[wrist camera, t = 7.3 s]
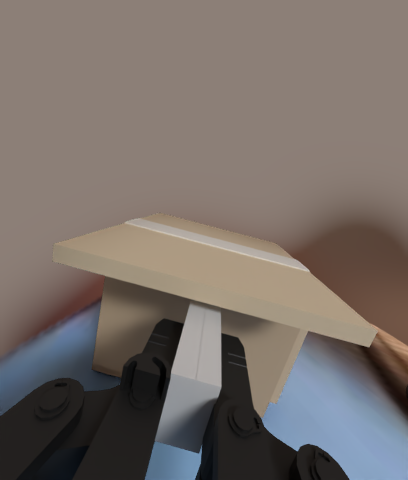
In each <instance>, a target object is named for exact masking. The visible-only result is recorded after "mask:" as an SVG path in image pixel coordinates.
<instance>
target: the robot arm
mask: <svg viewBox="0 0 408 480" xmlns="http://www.w3.org/2000/svg"><path fill="white" fill-rule="evenodd" d="M245 358H246V356H245V350H244V346H243V345H242V343H241V341H240V339H239V338H238V337H235V336H231V335H227V334H224V333H221V307H218V306H215V305H211V304H207V303H204V302H200V301H196V300H193V299H191V302H190V305H189V309H188V313H187V316H186V320H185V323H180V322H176V321H173V320H169V319H165V318H163V319H162V320H161V321H159V322H158V323H157V324H156V325H155V327H154V329H153V331H152V334H151V335H150V337H149V339H148V342H147V343H146V345H145V347H144V349H143V351H142V353H139V354H136V355H135V356H133V357H131V358H129V359H128V361H127V362H126V363H125V364H124V365H123V370H122V376H121V381H120V385H118V386H116V387H114V388H111V389H107V390H100V391H85V392H84V389H83V386H82V385H81V384H80V383H79V382H78V381H77V380H74V379H71V378H59V379H55V380H52V381H49V382H46V383H45V384H43V385H42V386H40V387H38V388H37V389H35V390H34V391H32V392H31V393H30V394H28V395H27V396H26V397H25V398H23V399H22V400H21V401H20V402H18V403H17V404H16V405H14V406H13V407H12V408H11V409H9V410H8V411H7V412H5V413H4V414H3V415H2V416H0V480H145V476H146V472H147V468H148V464H149V461H150V457H151V453H152V449H153V445H154V442H155V441H157V442H160V443H164V444H167V445H171V446H174V447H178V448H181V449H185V450H188V451H192V452H195V453H199V452H200V449H201V446H202V455H201V464H200V467H199V470H198V473H197V476H196V479H195V480H349V478H348V476H347V475H346V474H345V472H344V471H343V469H342V468H341V467H340V465H339V464H338V463H337V462H336V461H335V460H334V459H333V458H332V457H331V456H330V455H329V454H328V453H327V452H325V451H324V450H322V449H321V448H319V447H318V446H315V445H310V444H306V445H303V446H301V447H300V449H299V451H298V452H297V451H296V450H294V449H293V448H291V447H289V446H288V445H286V444H285V443H283V442H282V441H280V440H279V439H277V438H276V437H275V436H273V435H272V434H271V433H270V432H269V431H268V430H267V429H266V428H265V427H264V425H263V422H262V419H261V418H260V416H259V415H258V413H257V412H256V410H255V409H254V406H253V401H252V395H251V388H250V382H249V376H248V369H247V363H246V359H245ZM406 394H407V397H408V385H407V387H406Z"/></svg>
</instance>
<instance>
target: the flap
mask: <svg viewBox="0 0 408 480" xmlns="http://www.w3.org/2000/svg"><path fill="white" fill-rule="evenodd" d="M52 261H53V262H56V263H60V264H63V265H67V266H71V267H75V268H78V269H82V270H86V271H89V272H93V273H97V274H101V275H104V276H108V277H111V278H115V279H119V280H122V281H126V282H130V283H134V284H137V285H141V286H145V287H148V288H152V289H156V290H159V291H163V292H167V293H170V294H174V295H178V296H182V297H185V298H189V299H193V300H196V301H200V302H204V303H207V304H211V305H215V306H218V307H222V308H226V309H229V310H233V311H237V312H241V313H244V314H248V315H252V316H255V317H259V318H263V319H266V320H270V321H274V322H277V323H281V324H285V325H289V326H292V327H296V328H300V329H303V330H307V331H311V332H314V333H318V334H322V335H325V336H329V337H333V338H337V339H340V340H344V341H348V342H351V343H355V344H359V345H362V346H366V347H370V345H371V343H372V341H373V339H374V337H375V336H376V334H377V332H378V331H377V330H376V329H375V328H374V327H373V326H372V325H370V324H369V323H368V322H367V321H366V320H365V319H363V318H362V317H361V316H360V315H359V314H358V313H356V312H355V311H354V310H353V309H352V308H350V307H349V306H348V305H347V304H346V303H345V302H344V301H342V300H341V299H340V298H339V297H338V296H337V295H335V294H334V293H333V292H332V291H331V290H330V289H328V288H327V287H326V286H325V285H324V284H323V283H322V282H320V281H319V280H318V279H317V278H316V277H315V276H313V275H312V274H311V273H310V272H309V270H308V269H307V268H306V267H305V266H304V265H302V264H301V263H300V262H299V261H298V260H295V259H293V258H292V257H291V256H290V255H289V254H288V253H287V252H285V251H284V250H283V249H282V248H281V247H279V246H278V245H277V244H276V243H273V242H269V241H265V240H262V239H257V238H254V237H250V236H246V235H243V234H239V233H235V232H231V231H227V230H224V229H220V228H215V227H212V226H208V225H204V224H201V223H197V222H193V221H189V220H186V219H182V218H178V217H174V216H170V215H166V214H162V213H158V214H155V215H151V216H148V217H144V218H137V219H133V220H130V221H126V222H125V223H123V224H120V225H117V226H113V227H110V228H106V229H103V230H99V231H96V232H93V233H89V234H85V235H82V236H79V237H75V238H72V239H68V240H65V241H61V242H58V243H54V247H53V260H52Z"/></svg>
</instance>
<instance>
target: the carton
mask: <svg viewBox="0 0 408 480" xmlns="http://www.w3.org/2000/svg"><path fill="white" fill-rule="evenodd" d="M190 302H191V299H189V298H185V297H182V296H178V295H174V294H170V293H167V292H163V291H159V290H156V289H152V288H148V287H145V286H141V285H137V284H134V283H130V282H126V281H122V280H119V279H115V278H111V277H108V276H105V281H104V288H103V295H102V302H101V309H100V316H99V323H98V330H97V337H96V344H95V351H94V358H93V364H92V370H95V371H99V372H102V373H106V374H109V375H113V376H116V377H120V378H121V376H122V370H123V365H124V364H125V363H126V362H127V361H128V359H129V358H131V357H133V356H135V355H136V354H139V353H142V351H143V349H144V347H145V345H146V343H147V342H148V339H149V337H150V335H151V334H152V331H153V329H154V327H155V325H156V324H157V323H158V322H159V321H161V320H162V319H163V318H165V319H169V320H173V321H176V322H180V323H185V320H186V316H187V313H188V309H189V305H190ZM307 332H308V331H307V330H303V329H300V328H296V327H292V326H289V325H285V324H281V323H277V322H274V321H270V320H266V319H263V318H259V317H255V316H252V315H248V314H244V313H241V312H237V311H233V310H229V309H226V308H222V307H221V333H224V334H227V335H231V336H235V337H238V338H239V339H240V341H241V343H242V345H243V346H244V350H245V356H246V358H245V359H246V363H247V369H248V376H249V382H250V388H251V395H252V401H253V406H254V409H255V410H256V412H257V413H258V415H259V416H260V417H262V418H263V416H264V414H265V411H266V409H267V407H268V404H269V402H272V403H275V404H277V401H278V399H279V397H280V394H281V392H282V390H283V387H284V385H285V383H286V381H287V378H288V376H289V374H290V371H291V369H292V367H293V365H294V362H295V360H296V358H297V355H298V353H299V351H300V348H301V346H302V344H303V342H304V339H305V337H306V335H307Z"/></svg>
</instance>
